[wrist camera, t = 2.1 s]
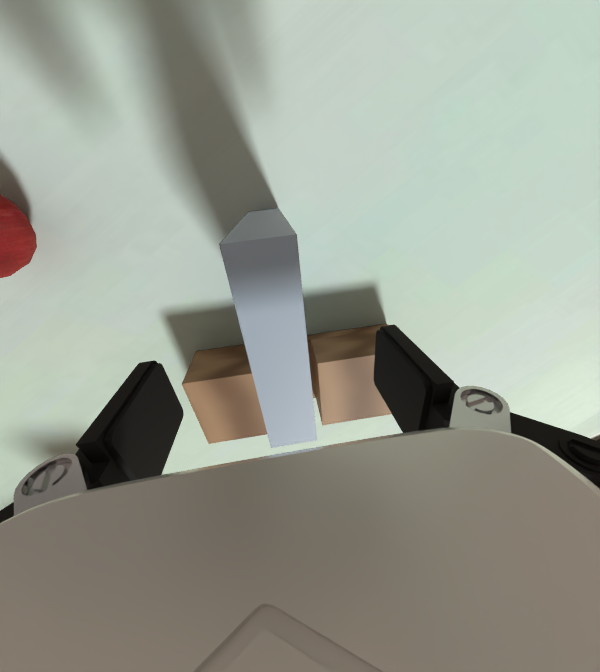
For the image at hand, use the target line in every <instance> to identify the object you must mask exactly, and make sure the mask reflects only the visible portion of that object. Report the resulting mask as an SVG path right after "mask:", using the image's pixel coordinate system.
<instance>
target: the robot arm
mask: <svg viewBox="0 0 600 672" xmlns="http://www.w3.org/2000/svg"><path fill="white" fill-rule="evenodd" d="M374 384H375V386H376V388H377V389H378V391H379V393H380V394H381V396H382V398H383V400H384V401H385V403H386V405H387V406H388V408H389V410H390V411H391V413H392V415H393V416H394V418H395V420H396V422H397V423H398V425H399V427H400V428H401V430H402V432H403V433H400V434H394V435H387V436H381V437H375V438H369V439H363V440H357V441H351V442H345V443H339V444H334V445H328V446H322V447H316V448H310V449H304V450H299V451H293V452H287V453H282V454H276V455H270V456H264V457H259V458H253V459H248V460H242V461H236V462H231V463H225V464H220V465H214V466H209V467H203V468H198V469H192V470H187V471H181V472H176V473H170V474H165V475H161V474H162V471H163V469H164V466H165V463H166V461H167V458H168V455H169V453H170V450H171V447H172V445H173V442H174V440H175V437H176V434H177V432H178V429H179V426H180V424H181V421H182V418H183V409H182V407H181V404H180V402H179V400H178V398H177V396H176V394H175V391H174V389H173V387H172V385H171V383H170V381H169V378H168V376H167V374H166V372H165V370H164V368H163V366H162V364H160V363H157V362H156V361H149V362H142V363H139V364H138V365H137V366H136V367H135V369H134V370H133V371H132V373H131V374H130V375H129V376H128V378H127V379H126V380H125V382H124V383H123V384H122V386H121V387H120V388H119V389H118V391H117V392H116V393H115V395H114V396H113V397H112V398H111V400H110V401H109V402H108V404H107V405H106V406H105V407H104V409H103V410H102V411H101V413H100V414H99V415H98V417H97V418H96V419H95V420H94V422H93V423H92V424H91V426H90V427H89V428H88V429H87V431H86V432H85V433H84V435H83V436H82V437H81V438H80V440H79V441H78V442H77V444H76V446H77V447H78V448H79V450H78V451H77V453H76V454H72V453H66V454H61V455H58V456H55V457H53V458H51V459H49V460H47V461H45V462H43V463H42V464H40V465H38V466H37V467H36V468H34V469H33V470H32V471H31V472H29V473H28V474H27V475H26V476H25V477H24V478H23V479H22V480H21V481H20V483H19V484H18V486H17V487H16V489H15V493H14V502H13V503H12V504H10V505H8V506H7V507H5V508H4V509H2V510H1V511H0V672H600V443H598V442H597V441H595V440H592V439H590V438H587V437H585V436H582V435H579V434H576V433H573V432H570V431H567V430H564V429H560V428H557V427H554V426H551V425H548V424H545V423H542V422H539V421H536V420H533V419H529V418H526V417H523V416H520V415H517V414H514V413H511V412H510V410H509V406H508V403H507V402H506V401H505V400H504V399H503V398H502V397H501V396H499V395H498V394H497V393H495V392H493V391H491V390H488V389H485V388H482V387H477V386H465V387H461V388H459V387H458V386H457V385H456V384H455V383H454V381H452V380H451V379H450V378H449V377H448V376H447V375H446V374H445V373H444V372H443V371H442V370H441V369H440V368H439V367H438V366H437V365H436V364H435V363H434V362H433V361H432V360H431V359H430V358H429V357H428V356H427V355H426V354H425V353H424V352H422V351H421V350H420V349H419V348H418V347H417V346H416V345H415V344H414V343H413V342H412V341H411V340H410V339H409V338H408V337H407V336H406V335H405V334H404V333H403V332H402V331H401V330H400V329H399V328H398V327H397V326H396V325H388V326H381V327H380V330H377V331H376V342H375V360H374Z"/></svg>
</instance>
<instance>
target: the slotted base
mask: <svg viewBox="0 0 600 672" xmlns="http://www.w3.org/2000/svg"><path fill="white" fill-rule="evenodd" d="M381 326H388V325H387V324H382V325H375V326H368V327H361V328H354V329H347V330H340V331H334V332H327V333H320V334H313V335H307V343H308V353H309V363H310V373H311V383H312V393H313V398H316V400H317V404H318V408H319V412H320V417H321V421H322V425H327V424H333V423H339V422H345V421H351V420H358V419H364V418H370V417H376V416H382V415H388V414H392V413H391V411H390V410H389V408H388V406H387V405H386V403H385V401H384V400H383V398H382V396H381V394H380V393H379V391H378V389H377V388H376V386H375V384H374V360H375V342H376V331H377V330H380V327H381ZM182 386H183V388H184V390H185V392H186V395H187V397H188V399H189V401H190V403H191V406H192V408H193V410H194V412H195V414H196V417H197V419H198V421H199V423H200V425H201V428H202V430H203V432H204V434H205V436H206V439H207V441H208V443H209V444H210V443H216V442H222V441H228V440H235V439H241V438H247V437H253V436H259V435H265V434H267V430H266V426H265V422H264V418H263V414H262V411H261V407H260V403H259V399H258V395H257V391H256V387H255V383H254V379H253V375H252V371H251V367H250V363H249V359H248V355H247V352H246V348H245V344H244V345H237V346H230V347H223V348H216V349H209V350H202V351H196V353H195V355H194V357H193V360H192V362H191V364H190V366H189V369H188V371H187V373H186V376H185V378H184V380H183V382H182Z"/></svg>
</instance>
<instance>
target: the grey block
mask: <svg viewBox="0 0 600 672" xmlns="http://www.w3.org/2000/svg"><path fill="white" fill-rule="evenodd" d="M219 245H220V249H221V253H222V257H223V261H224V265H225V269H226V273H227V277H228V281H229V285H230V289H231V293H232V297H233V300H234V304H235V308H236V312H237V316H238V320H239V324H240V328H241V332H242V336H243V340H244V344H245V348H246V352H247V355H248V359H249V363H250V367H251V371H252V375H253V379H254V383H255V387H256V391H257V395H258V399H259V403H260V407H261V411H262V414H263V418H264V422H265V426H266V430H267V434H268V438H269V442H270V446H271V448H273V447H279V446H285V445H291V444H297V443H303V442H309V441H315V440H317V434H316V424H315V414H314V404H313V393H312V383H311V373H310V363H309V353H308V343H307V333H306V323H305V313H304V303H303V293H302V283H301V273H300V263H299V253H298V243H297V234H296V233H295V231H294V230H293V228H292V227H291V226H290V224H289V223H288V221H287V220H286V218H285V217H284V215H283V214H282V212H281V211H280V210H279V208H276V209H268V210H259V211H251V212H248V213H247V214H246V215H245V216H244V217H243V218H242V219H241V221H240V222H239V223H238V224H237V225H236V226H235V227H234V228H233V229H232V231H231V232H230V233H229V234H228V235H227V236H226V237H225V238H224V239H223V240H222V242H221V243H220V244H219Z"/></svg>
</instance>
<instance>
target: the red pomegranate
mask: <svg viewBox="0 0 600 672" xmlns="http://www.w3.org/2000/svg"><path fill="white" fill-rule="evenodd" d="M36 248H37V244H36V234H35V232H34V230H33V228H32V226H31V224H30V222H29V220H28V218H27V217H26V216H25V215H24V214H23V213H22V211H21V210H20V209H19V208H18V207H17V206H16V205H15V204H14V203H13V202H12V201H10V200H8V199H7V198H5V197H4V196H2V195H0V278H3V277H7V276H11V275H12V274H14V273H15V272H16V271H18V270H19V269H21V268H22V267H24V266H25V265H27V264H29V263H30V261H31V259H32V256H33V254H34V252H35V250H36Z"/></svg>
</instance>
